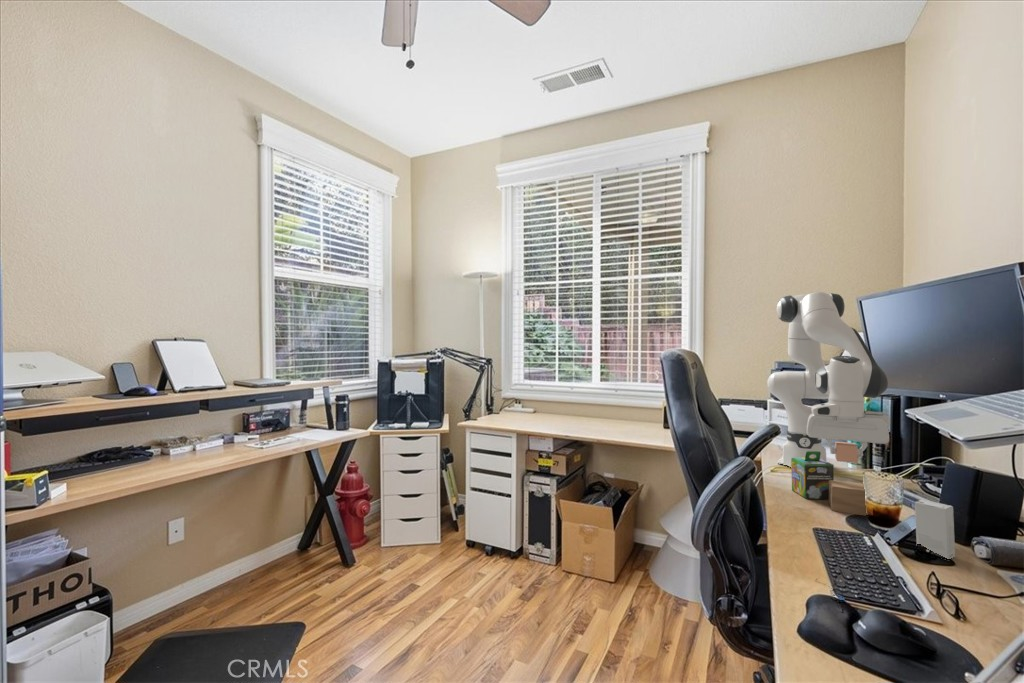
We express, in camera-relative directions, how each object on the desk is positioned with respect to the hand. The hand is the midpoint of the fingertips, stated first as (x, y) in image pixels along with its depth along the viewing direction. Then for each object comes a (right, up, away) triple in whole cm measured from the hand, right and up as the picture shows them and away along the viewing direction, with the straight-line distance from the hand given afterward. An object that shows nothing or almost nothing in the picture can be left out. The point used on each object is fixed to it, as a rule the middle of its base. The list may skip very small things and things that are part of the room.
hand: (846, 454), depth 137 cm
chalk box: (-2, -17, +13) cm, 21 cm away
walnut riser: (+1, -17, 0) cm, 17 cm away
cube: (0, -2, 0) cm, 2 cm away
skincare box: (-1, -17, -29) cm, 34 cm away
